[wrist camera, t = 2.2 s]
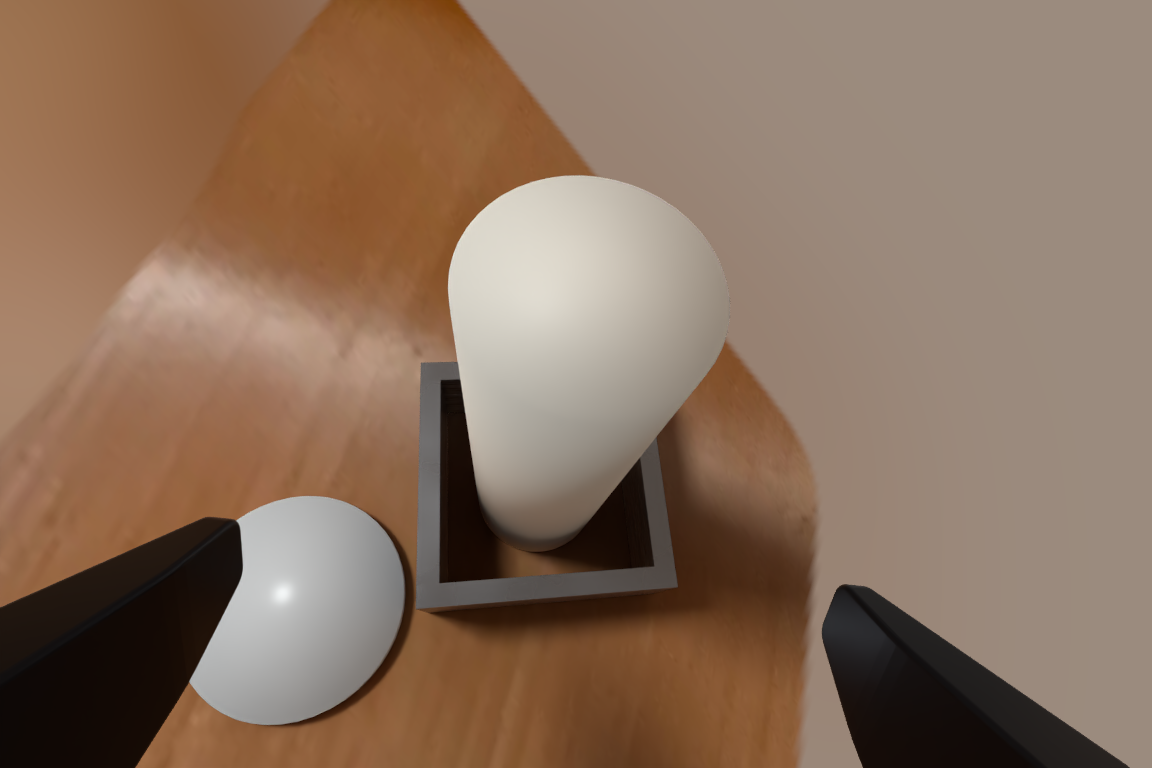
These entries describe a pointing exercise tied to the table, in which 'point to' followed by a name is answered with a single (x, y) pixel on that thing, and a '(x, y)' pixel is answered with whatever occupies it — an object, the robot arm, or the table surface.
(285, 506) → the white oval disc
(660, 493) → the frame
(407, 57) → the table surface
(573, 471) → the cream peg
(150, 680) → the robot arm
